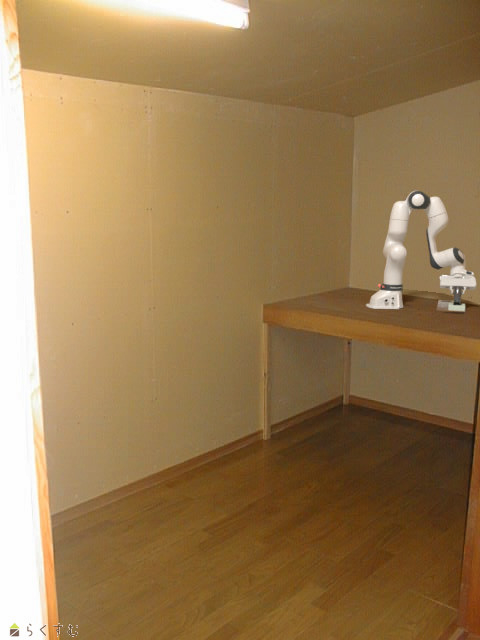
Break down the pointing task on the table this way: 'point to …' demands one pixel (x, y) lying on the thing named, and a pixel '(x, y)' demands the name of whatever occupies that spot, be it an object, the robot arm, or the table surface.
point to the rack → (456, 307)
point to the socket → (444, 303)
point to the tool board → (450, 310)
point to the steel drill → (457, 295)
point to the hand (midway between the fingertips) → (457, 294)
